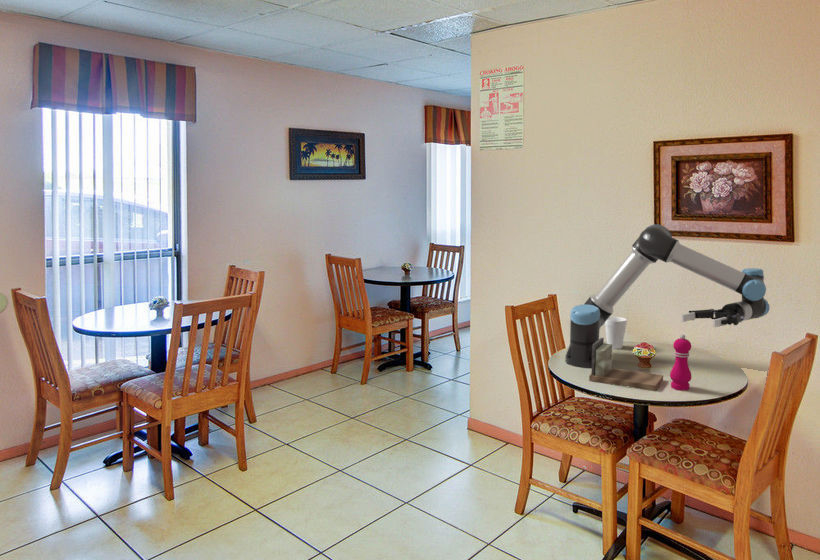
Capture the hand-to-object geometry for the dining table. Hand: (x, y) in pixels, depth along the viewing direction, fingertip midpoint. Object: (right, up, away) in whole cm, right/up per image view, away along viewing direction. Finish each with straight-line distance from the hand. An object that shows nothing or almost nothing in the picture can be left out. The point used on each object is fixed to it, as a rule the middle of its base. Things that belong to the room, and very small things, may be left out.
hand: (697, 320), depth 234 cm
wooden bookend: (-24, -23, +8) cm, 34 cm away
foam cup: (-13, -16, +55) cm, 58 cm away
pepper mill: (-7, -25, -1) cm, 26 cm away
